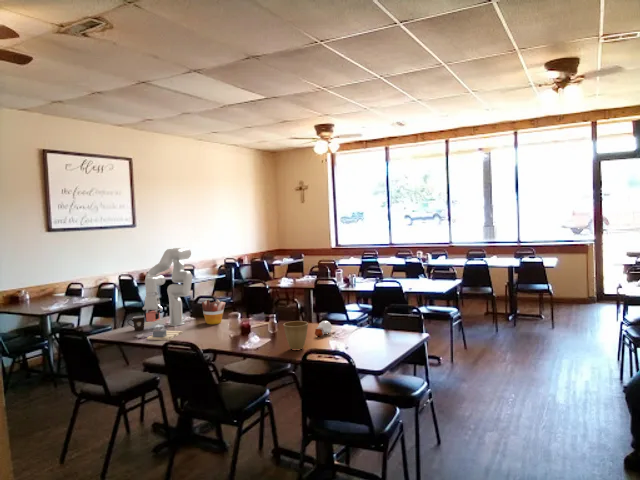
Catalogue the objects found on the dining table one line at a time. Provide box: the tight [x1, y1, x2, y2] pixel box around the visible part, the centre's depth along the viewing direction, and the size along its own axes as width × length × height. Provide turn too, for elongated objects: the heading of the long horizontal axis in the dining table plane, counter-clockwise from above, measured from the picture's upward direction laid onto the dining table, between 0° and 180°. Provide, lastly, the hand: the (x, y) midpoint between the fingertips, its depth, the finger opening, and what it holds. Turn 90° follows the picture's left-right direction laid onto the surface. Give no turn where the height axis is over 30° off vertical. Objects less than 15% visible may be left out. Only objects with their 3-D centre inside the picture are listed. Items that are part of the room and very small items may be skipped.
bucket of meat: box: [201, 298, 226, 325], centre depth 389 cm, size 20×16×20 cm
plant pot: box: [283, 320, 309, 350], centre depth 303 cm, size 15×15×16 cm
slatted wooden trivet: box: [146, 330, 183, 341], centre depth 349 cm, size 20×16×2 cm
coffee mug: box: [127, 315, 146, 332], centre depth 371 cm, size 12×9×10 cm
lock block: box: [145, 310, 161, 323], centre depth 357 cm, size 8×6×6 cm
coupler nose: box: [152, 329, 167, 337], centre depth 342 cm, size 4×8×4 cm, turn 78°
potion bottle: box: [314, 320, 333, 337], centre depth 338 cm, size 9×10×15 cm
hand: (153, 318), depth 358 cm, fingers closed on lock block, 6 cm apart
